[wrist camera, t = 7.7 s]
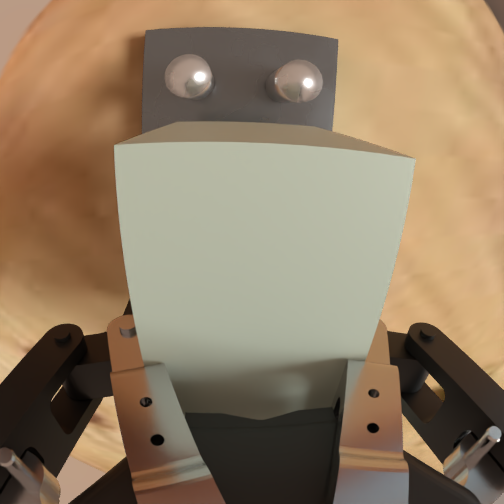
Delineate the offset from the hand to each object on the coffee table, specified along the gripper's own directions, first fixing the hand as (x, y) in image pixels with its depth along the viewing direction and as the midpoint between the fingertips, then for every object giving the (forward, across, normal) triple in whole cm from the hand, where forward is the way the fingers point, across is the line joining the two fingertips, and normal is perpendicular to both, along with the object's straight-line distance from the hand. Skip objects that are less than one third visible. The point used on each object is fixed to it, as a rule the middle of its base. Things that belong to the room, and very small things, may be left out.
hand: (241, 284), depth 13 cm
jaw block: (+1, 0, 0) cm, 1 cm away
